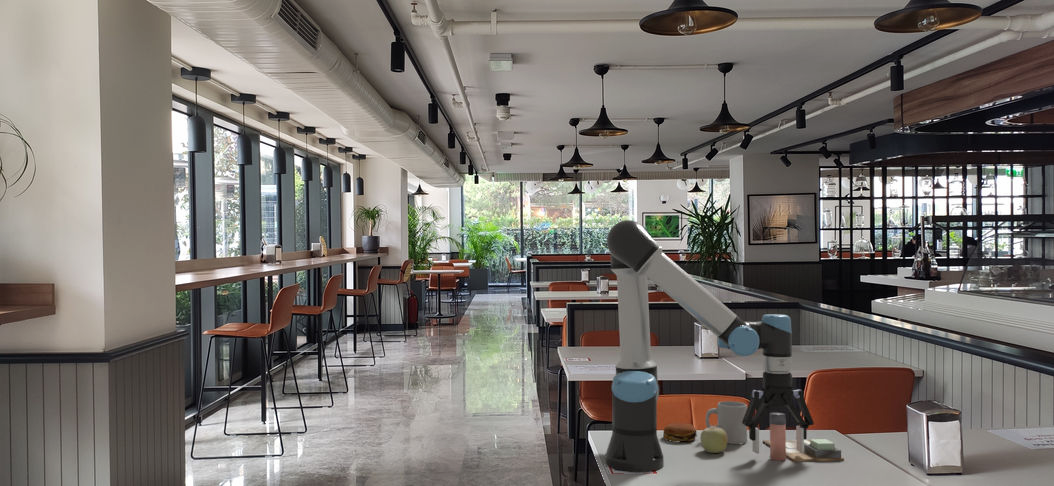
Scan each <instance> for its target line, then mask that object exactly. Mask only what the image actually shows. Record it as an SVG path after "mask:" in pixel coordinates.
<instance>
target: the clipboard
mask: <svg viewBox="0 0 1054 486" xmlns="http://www.w3.org/2000/svg"><path fill="white" fill-rule="evenodd" d="M763 442H765V443H766V444H767V445H766V444H765V443H764V444H765V445H766V446H768V445H769V446H770V439H769V440H768V439H767V440H762V443H763ZM769 446H768V447H769ZM786 459H789V460H791V461H792V462H796V463H797V462H834V461H835V462H836V461H837V460H844V461H845V458H844V457H843V456H842V450H841V449H839V448H837V447H836V446H835V450H817V449H815V448H813V447H811V446H810V439H804V453H801V452H799V451H797V443H796V439H786ZM837 462H838V461H837Z"/></svg>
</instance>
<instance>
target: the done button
mask: <svg viewBox="0 0 1054 486" xmlns="http://www.w3.org/2000/svg"><path fill="white" fill-rule="evenodd" d="M809 440H810V446H811V447H813V448H815V449H817V450H835V447H836V446H835V445H836V444H835V442H832V441H831V440H828V439H826V438H817V439H816V438H815V439H814V438H813V439H811V438H810V439H809Z"/></svg>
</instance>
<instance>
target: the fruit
mask: <svg viewBox="0 0 1054 486" xmlns="http://www.w3.org/2000/svg"><path fill="white" fill-rule="evenodd" d="M712 426H713V427H709V428H707V427H706V428H704V429H703V430H702V431H701V433H700V443H701V446H702V448H703V449H704V450H705V451H706V452H707V453H709V454H716V453H717V454H718V453H721V452H724V451H725V449H726V448H727V446H728V444H727V441H728V439H727V434H726V432H725V431H724V430H723V429H721V428H717V427H714V426H716V423H714V424H712Z"/></svg>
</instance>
